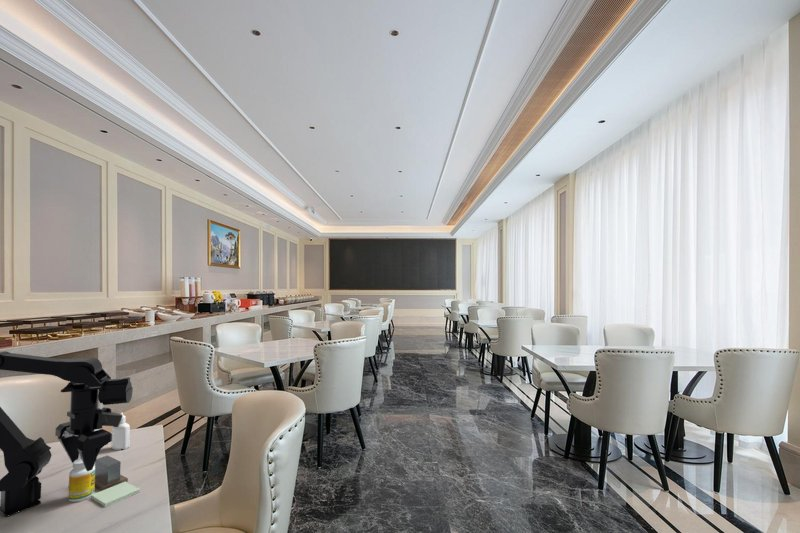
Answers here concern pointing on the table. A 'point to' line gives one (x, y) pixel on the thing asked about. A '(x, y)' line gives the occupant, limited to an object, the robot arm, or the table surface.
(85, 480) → the supplement bottle
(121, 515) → the table surface
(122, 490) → the sage pad
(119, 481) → the mounted unit
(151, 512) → the table surface
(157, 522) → the table surface
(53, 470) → the table surface
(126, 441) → the eye dropper bottle
